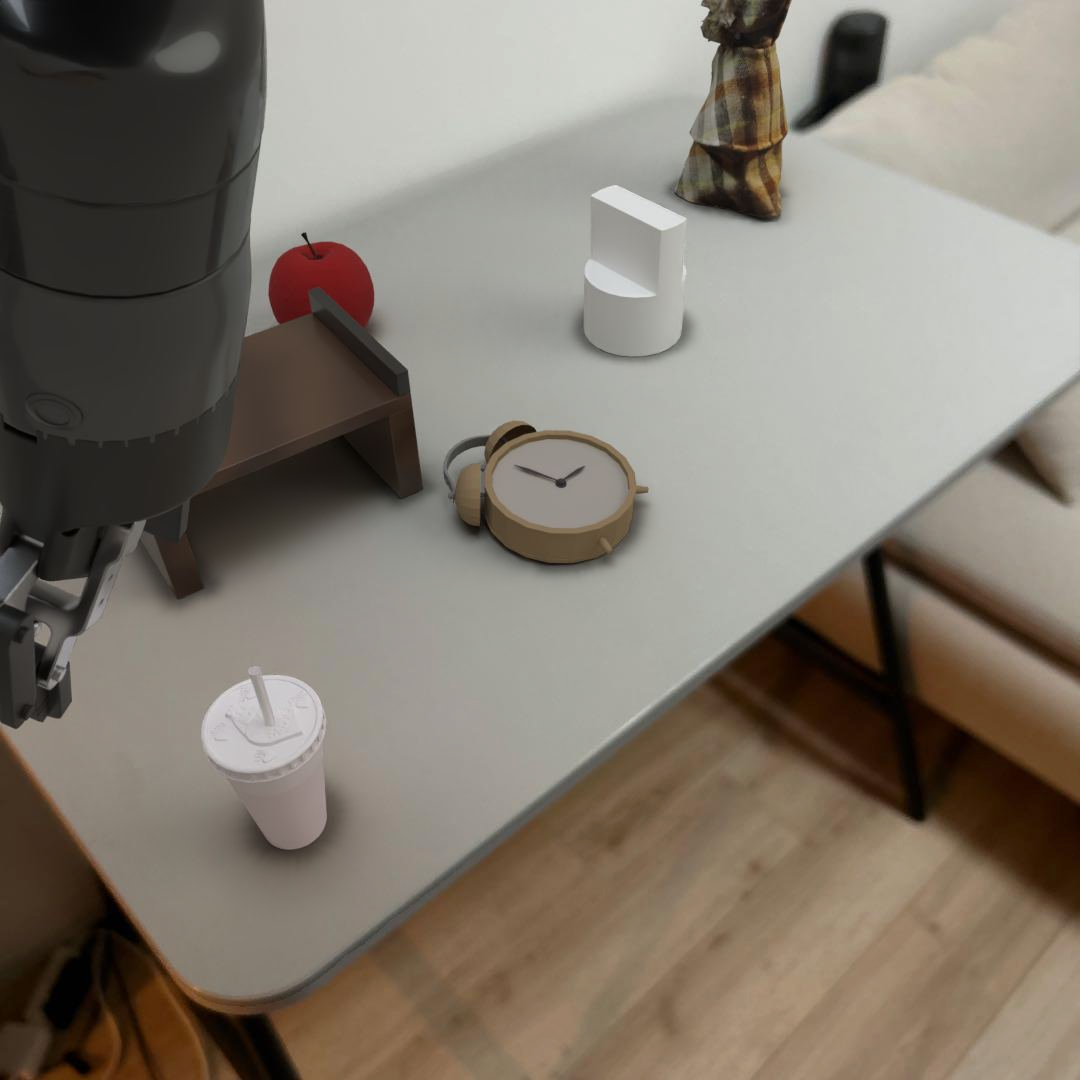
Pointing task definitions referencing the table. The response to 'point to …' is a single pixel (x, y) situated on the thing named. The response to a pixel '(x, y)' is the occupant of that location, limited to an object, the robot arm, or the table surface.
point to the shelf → (309, 412)
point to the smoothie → (272, 754)
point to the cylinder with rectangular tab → (634, 274)
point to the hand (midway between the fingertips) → (101, 610)
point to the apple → (320, 281)
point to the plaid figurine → (740, 112)
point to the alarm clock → (547, 492)
